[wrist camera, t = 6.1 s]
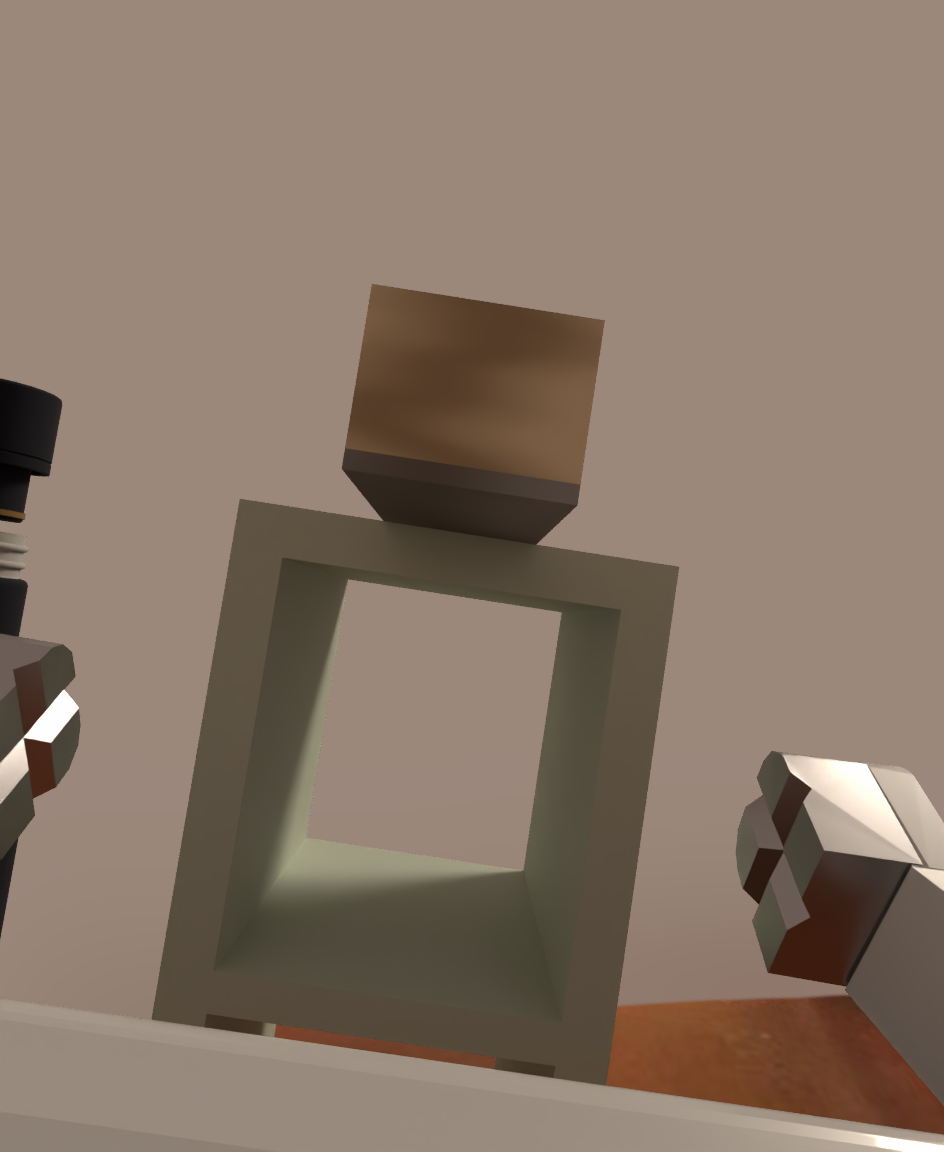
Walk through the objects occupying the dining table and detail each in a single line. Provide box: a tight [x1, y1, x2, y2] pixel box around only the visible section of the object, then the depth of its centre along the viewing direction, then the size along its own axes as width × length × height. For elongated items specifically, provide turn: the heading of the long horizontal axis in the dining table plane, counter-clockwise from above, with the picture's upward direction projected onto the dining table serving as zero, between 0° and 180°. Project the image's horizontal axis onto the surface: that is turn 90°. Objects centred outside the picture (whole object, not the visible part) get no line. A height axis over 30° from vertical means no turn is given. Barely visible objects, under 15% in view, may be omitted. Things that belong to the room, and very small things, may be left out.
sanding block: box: [342, 284, 605, 545], centre depth 25 cm, size 4×19×4 cm, turn 1°
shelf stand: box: [152, 499, 679, 1086], centre depth 30 cm, size 13×14×26 cm
